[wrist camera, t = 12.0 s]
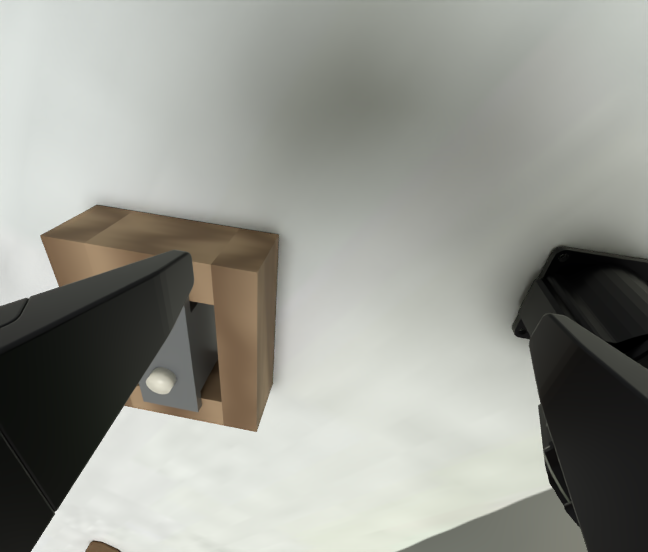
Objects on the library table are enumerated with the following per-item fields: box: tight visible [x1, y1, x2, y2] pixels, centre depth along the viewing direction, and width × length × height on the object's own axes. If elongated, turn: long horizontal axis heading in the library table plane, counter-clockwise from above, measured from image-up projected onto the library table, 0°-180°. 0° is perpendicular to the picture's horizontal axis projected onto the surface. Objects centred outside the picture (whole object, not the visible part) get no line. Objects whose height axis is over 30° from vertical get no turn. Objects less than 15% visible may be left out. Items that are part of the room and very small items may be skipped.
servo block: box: [139, 296, 218, 412], centre depth 24 cm, size 4×10×6 cm, turn 173°
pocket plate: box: [40, 205, 279, 432], centre depth 24 cm, size 12×14×4 cm
